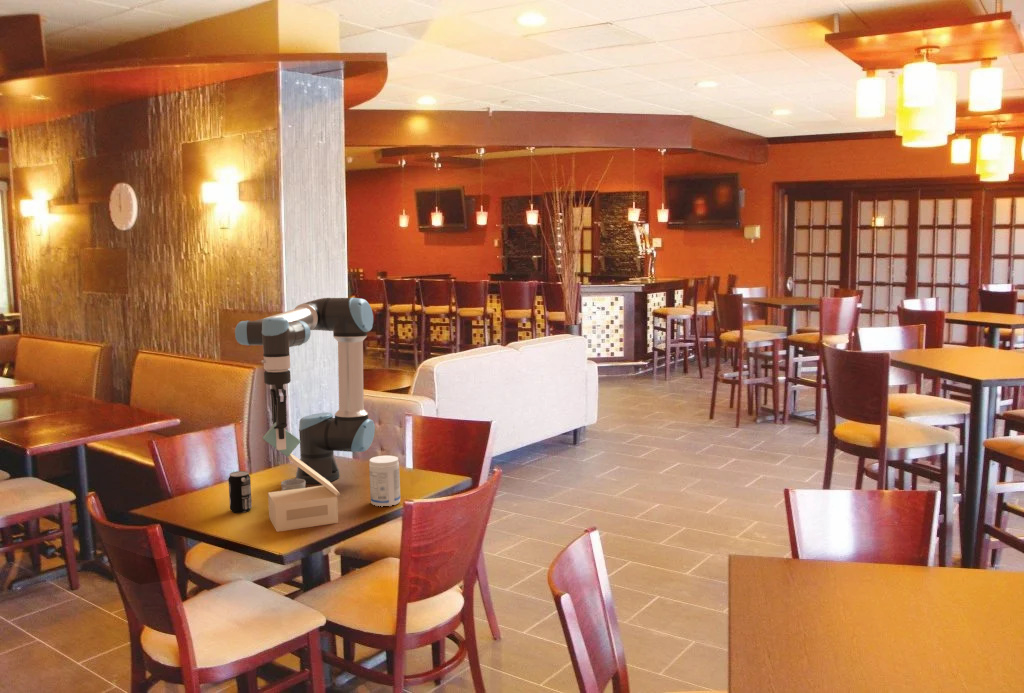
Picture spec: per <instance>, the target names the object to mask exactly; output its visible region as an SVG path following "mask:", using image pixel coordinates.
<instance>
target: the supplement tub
mask: <svg viewBox="0 0 1024 693" xmlns="http://www.w3.org/2000/svg"><path fill="white" fill-rule="evenodd" d="M368 461H369V463H368V464H369V466H368V472H369V488H370V493H369V494H370V503H371V505H373V506H374V505H375V507H378V506H379V508H384V507H383V506H389V507H393V506H392V505H394V506H396V505H398V504H399V503H400V502H401V482H400V481H401V480H400V479H401V478H400V477H401V476H400V462H399V457H398V456H395V455H378V456H373V457H371V458H369V460H368ZM380 506H381V507H380Z"/></svg>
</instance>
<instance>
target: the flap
mask: <svg viewBox="0 0 1024 693" xmlns="http://www.w3.org/2000/svg"><path fill="white" fill-rule="evenodd" d="M274 427H276V422H275V423H274V424H273V423H272V426H270V428H269V429H268V430H267V431H266V433H265V434H264V435H263V436H262V439H263V440H264V441H265V442H266V443H268V444H270V446H272V447H273V448H274V449H276V429H274ZM285 430H286V449H284V450H277V451H279V452H280V453H281V454H283V455H284V457H287V458H288V460H289V461H290V462H292V464H294V465H295V466H296V467H297V468H298V467H299V468H301V469H302V470H303V471H305V472H306V473H307V474H309V475H310V476H311V477H313V478H314V479H315V480H317V481H318V482H320V483H319V484H321V486H323V485H324V486H325V487H326V488H328V489H329V490H330V491H332V492H333V493H334V494H335V495H336V496H337V497H339V496H341V493H340V492H339V491H338V489H337V488H336V487H335V486H334V485H333V484H332V483H331V481H330V482H329V481H328V480H326V479H325V478H324V477H322V476H321V475H320V474H318V473H317V472H316V471H314V470H313V469H312V468H310V467H309V466H308V465H306V464H305V463H304V462H302V461H301V460H300V459H299V458H298V457H297V456H295V455H294V454H293V452H294V451H295V449H296V448H297V447H298V445H300V442H301V441H300V438H298V437H297V436H295V435H294V434H292V433H291V431H288V430H287V428H285Z"/></svg>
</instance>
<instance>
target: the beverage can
mask: <svg viewBox="0 0 1024 693" xmlns="http://www.w3.org/2000/svg"><path fill="white" fill-rule="evenodd" d="M227 481H228V496H229V498H228V499H229V510H230V511H231V512H232V513H235V514H242V513H247V512H249V511H250V510H251V509H252V507H253V505H252V504H253V503H252V484H251V483H252V482H251V476H250V474H249V471H247V470H239V471H238V470H237V471H233V472H230V473H229V477H228V480H227Z"/></svg>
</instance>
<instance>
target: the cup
mask: <svg viewBox="0 0 1024 693" xmlns="http://www.w3.org/2000/svg"><path fill="white" fill-rule="evenodd" d="M306 484H307V483H306V481H305V480H304V479H296V478H290V479H285V480H282V481H281V482H280V486H281V490H280V491H284V490H292V489H300V488H306Z"/></svg>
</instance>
